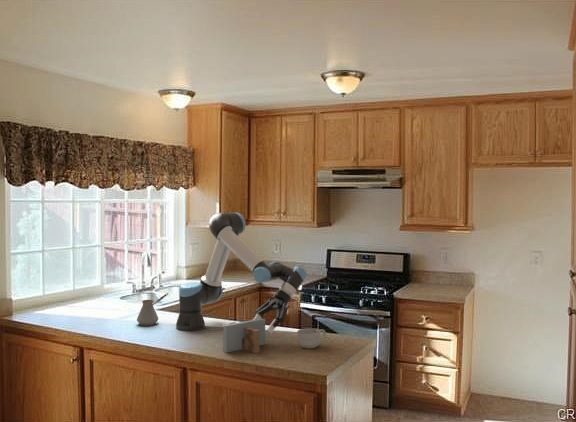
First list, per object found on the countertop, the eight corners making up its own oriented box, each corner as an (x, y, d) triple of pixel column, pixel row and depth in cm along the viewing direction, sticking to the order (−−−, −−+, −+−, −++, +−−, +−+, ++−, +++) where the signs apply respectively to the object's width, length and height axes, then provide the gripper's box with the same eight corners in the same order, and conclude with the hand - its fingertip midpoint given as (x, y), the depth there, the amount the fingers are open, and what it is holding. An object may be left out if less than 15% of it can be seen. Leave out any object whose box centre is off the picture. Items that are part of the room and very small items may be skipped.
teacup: (300, 350, 251) (300, 333, 250) (294, 344, 261) (294, 327, 261) (329, 349, 254) (329, 331, 254) (322, 342, 264) (323, 326, 264)
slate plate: (223, 351, 249) (223, 325, 249) (261, 343, 263) (262, 318, 263) (226, 352, 247) (226, 326, 247) (265, 344, 261) (265, 319, 261)
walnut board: (230, 343, 262) (230, 322, 262) (234, 342, 263) (234, 322, 263) (255, 353, 246) (255, 331, 246) (259, 352, 248) (259, 330, 248)
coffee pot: (146, 327, 292) (146, 299, 291) (132, 324, 298) (132, 297, 298) (176, 320, 310) (176, 293, 309) (161, 317, 316) (161, 291, 316)
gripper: (305, 302, 261) (280, 339, 252) (273, 294, 280) (249, 328, 271) (297, 292, 257) (271, 329, 248) (265, 285, 277) (240, 319, 268)
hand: (260, 329), depth 260 cm, fingers open, 13 cm apart
